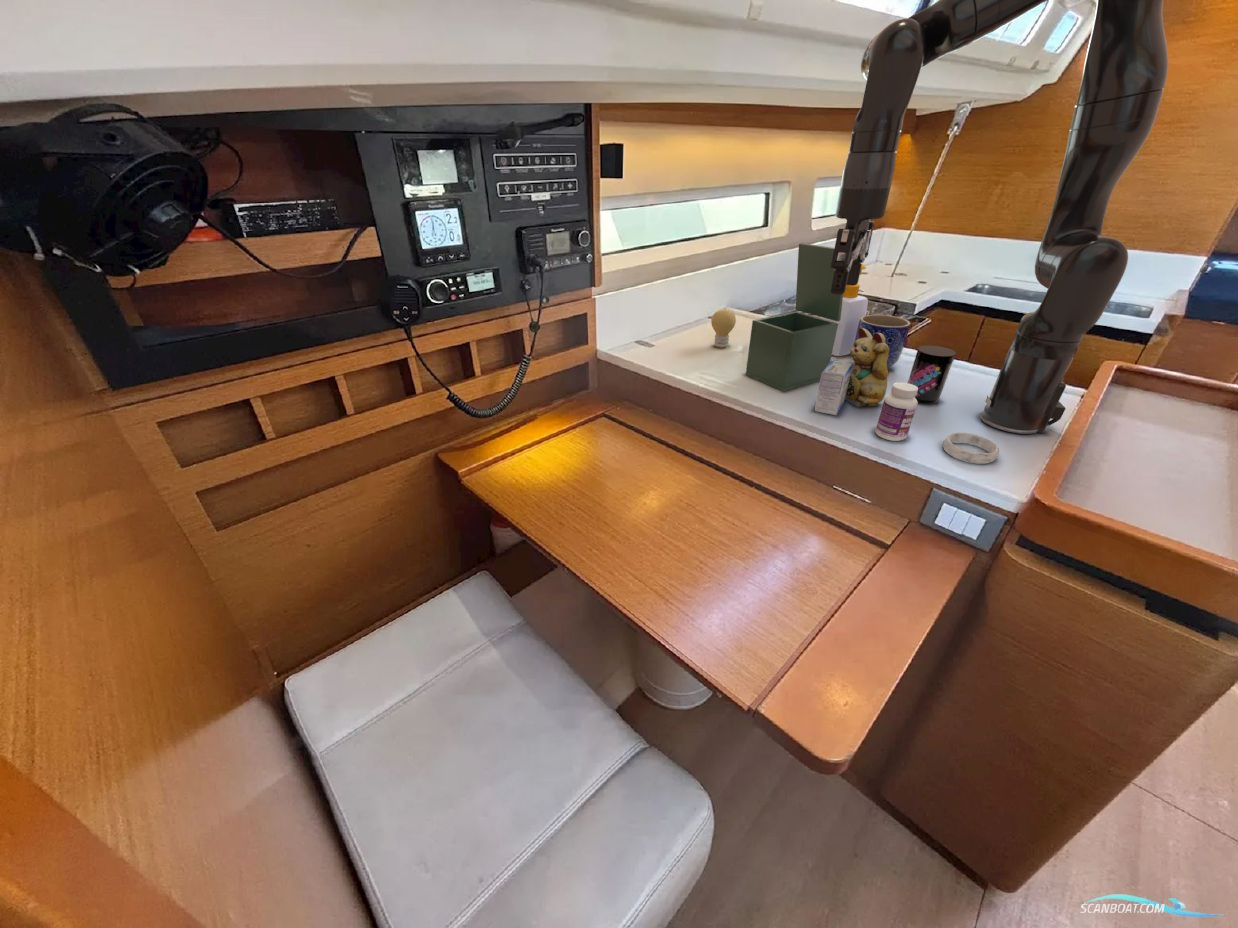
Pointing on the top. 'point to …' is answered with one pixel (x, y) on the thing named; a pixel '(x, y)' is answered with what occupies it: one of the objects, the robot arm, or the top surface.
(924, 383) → the supplement container
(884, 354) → the decorative figurine
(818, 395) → the medicine box
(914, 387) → the pill bottle
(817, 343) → the tin
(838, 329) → the soap bottle
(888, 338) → the planter
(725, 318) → the light bulb
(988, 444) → the ring
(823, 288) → the green square lid
